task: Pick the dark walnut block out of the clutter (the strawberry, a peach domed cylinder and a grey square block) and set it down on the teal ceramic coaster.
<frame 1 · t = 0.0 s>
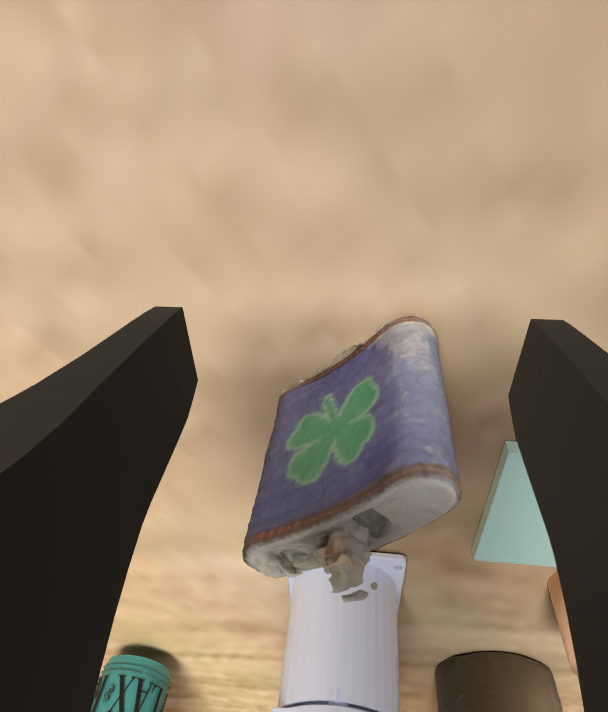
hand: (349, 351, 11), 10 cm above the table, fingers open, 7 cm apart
peach domed cylinder: (588, 582, 33), on the table
coaster: (577, 506, 28), on the table
beverage bottle: (145, 649, 48), on the table
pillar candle: (492, 672, 43), on the table
flask: (352, 370, 24), on the table
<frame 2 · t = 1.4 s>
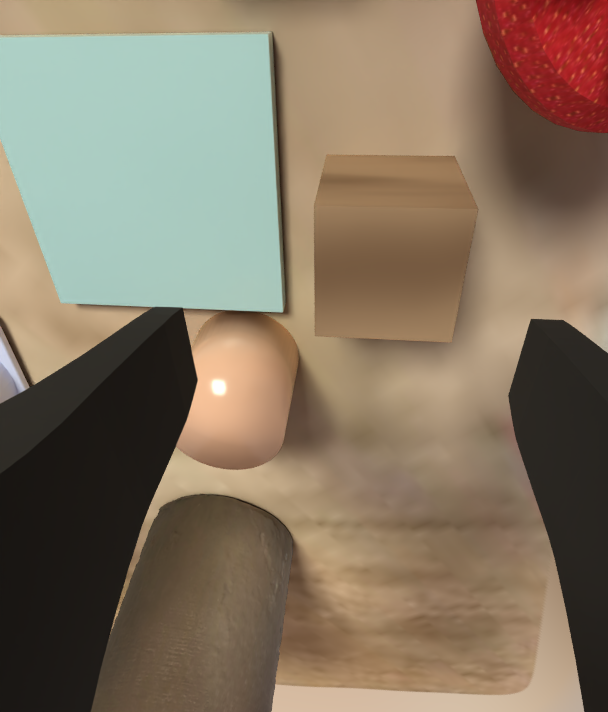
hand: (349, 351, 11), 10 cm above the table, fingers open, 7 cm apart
peach domed cylinder: (247, 353, 24), on the table
coaster: (152, 186, 19), on the table
walnut block: (384, 215, 19), on the table
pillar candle: (225, 535, 34), on the table
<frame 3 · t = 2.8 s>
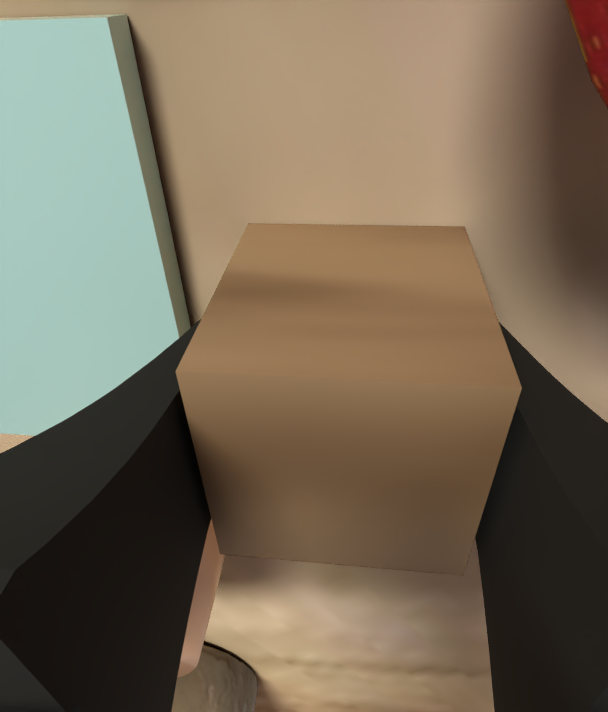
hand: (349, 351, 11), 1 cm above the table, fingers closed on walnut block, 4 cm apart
peach domed cylinder: (166, 483, 17), on the table
walnut block: (351, 315, 12), on the table, touching gripper
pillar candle: (173, 665, 27), on the table
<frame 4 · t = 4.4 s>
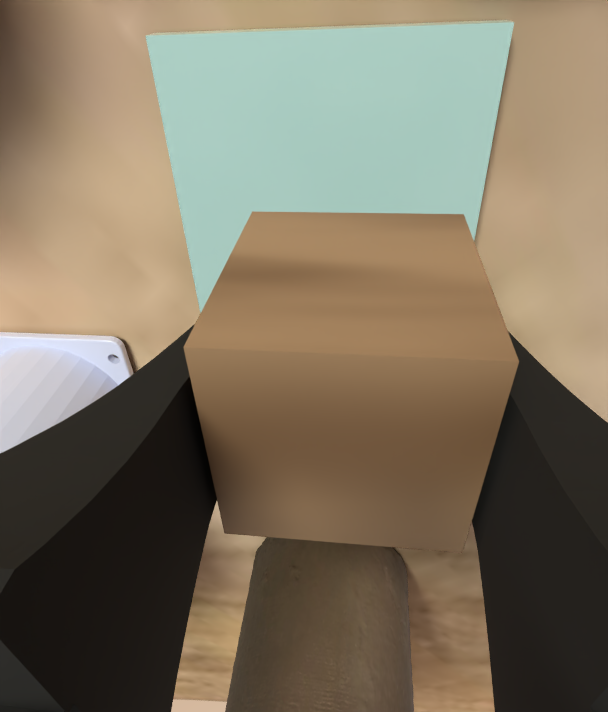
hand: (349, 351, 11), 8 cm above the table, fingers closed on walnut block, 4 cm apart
coaster: (326, 199, 17), on the table
walnut block: (352, 303, 12), point 7 cm above the table, touching gripper
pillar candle: (331, 564, 32), on the table
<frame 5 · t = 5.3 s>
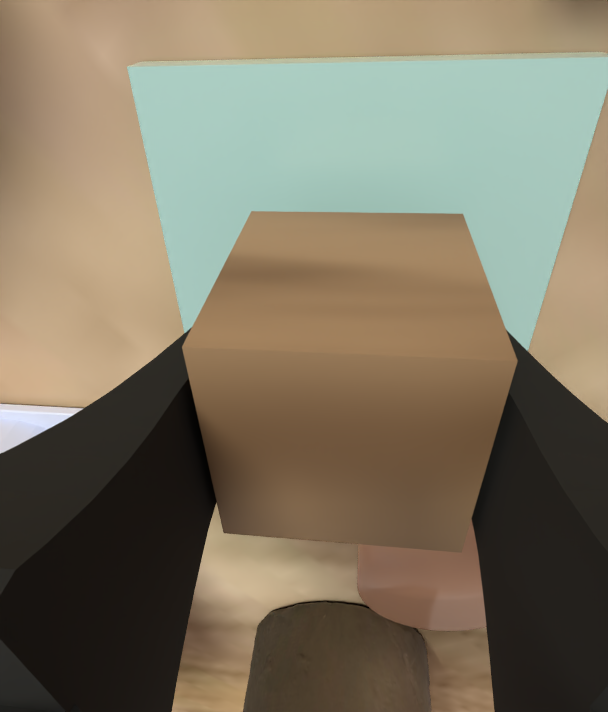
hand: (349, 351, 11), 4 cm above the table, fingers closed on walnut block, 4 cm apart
peach domed cylinder: (428, 459, 18), on the table
coaster: (353, 264, 14), on the table
walnut block: (351, 302, 12), point 2 cm above the table, touching gripper
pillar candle: (341, 638, 29), on the table
when the fingers open (3 cm above the table, at t = 6.0 s): walnut block stays where it is, resting on coaster.
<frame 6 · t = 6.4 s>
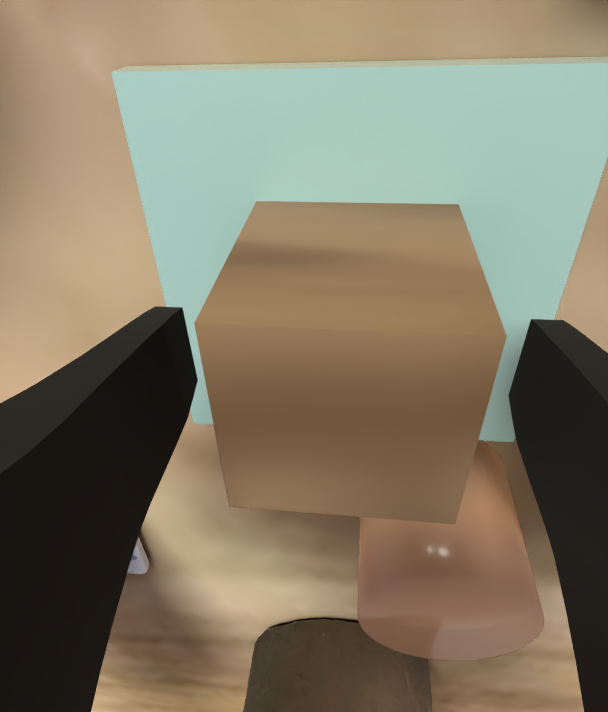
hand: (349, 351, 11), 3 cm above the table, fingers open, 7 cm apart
peach domed cylinder: (431, 478, 18), on the table
coaster: (353, 279, 13), on the table
walnut block: (351, 290, 12), point 1 cm above the table, touching coaster
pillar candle: (341, 654, 28), on the table
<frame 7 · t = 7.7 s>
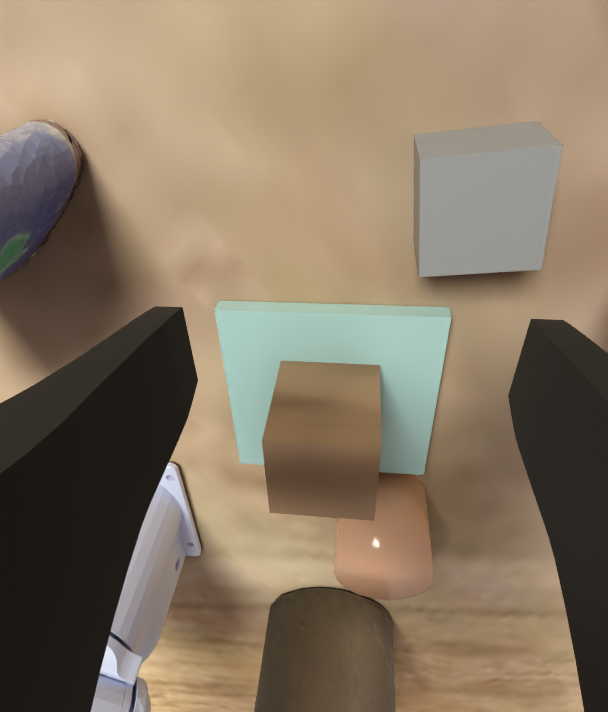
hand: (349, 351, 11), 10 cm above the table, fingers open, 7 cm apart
peach domed cylinder: (382, 494, 29), on the table
coaster: (331, 390, 25), on the table
walnut block: (329, 399, 24), point 1 cm above the table, touching coaster
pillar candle: (331, 615, 39), on the table
flask: (20, 209, 21), on the table
grey square block: (469, 185, 18), on the table
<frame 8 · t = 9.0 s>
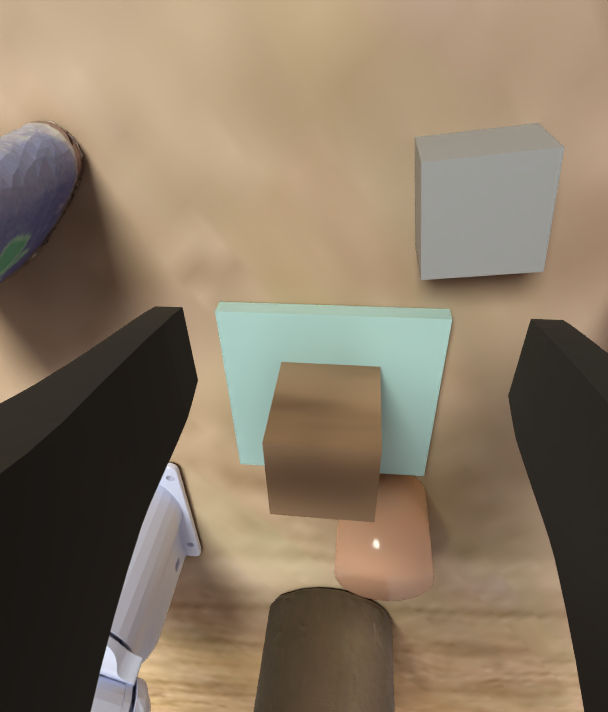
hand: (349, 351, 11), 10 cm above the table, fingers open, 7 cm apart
peach domed cylinder: (382, 494, 29), on the table
coaster: (331, 391, 25), on the table
walnut block: (330, 400, 24), point 1 cm above the table, touching coaster
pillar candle: (330, 615, 39), on the table
flask: (21, 210, 21), on the table
grey square block: (470, 187, 18), on the table
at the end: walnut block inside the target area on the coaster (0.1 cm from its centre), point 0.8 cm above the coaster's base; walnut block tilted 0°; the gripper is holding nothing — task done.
